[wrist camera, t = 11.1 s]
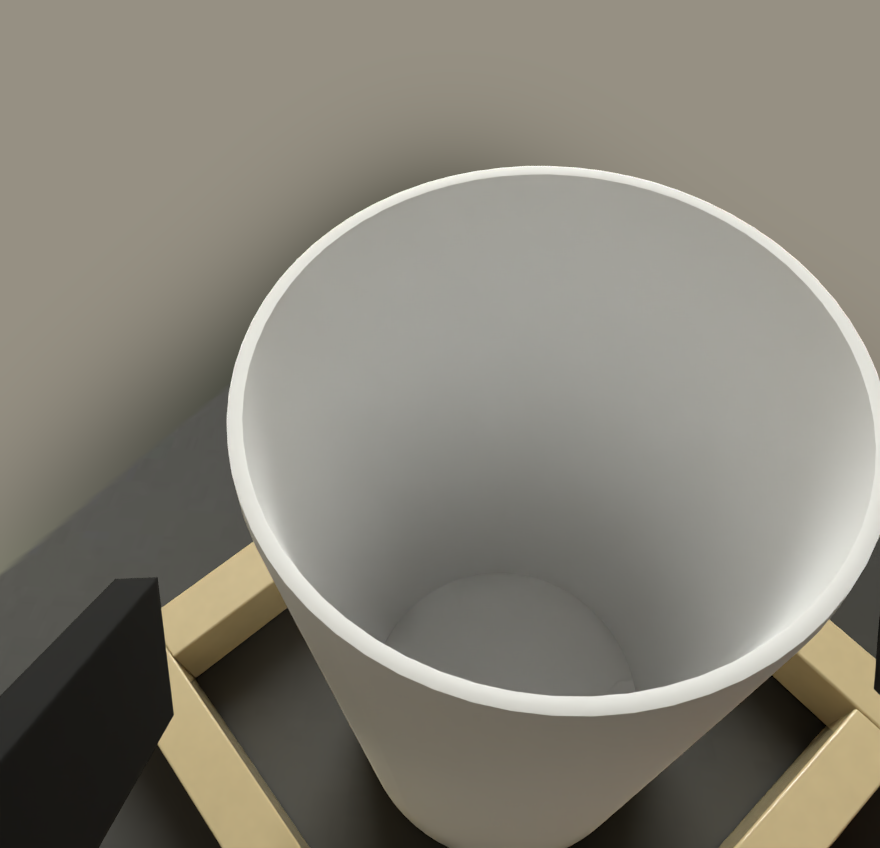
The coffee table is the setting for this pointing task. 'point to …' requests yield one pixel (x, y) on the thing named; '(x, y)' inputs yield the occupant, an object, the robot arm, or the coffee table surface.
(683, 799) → the coffee table surface
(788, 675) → the square frame
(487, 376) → the cup
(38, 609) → the coffee table surface
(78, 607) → the coffee table surface
